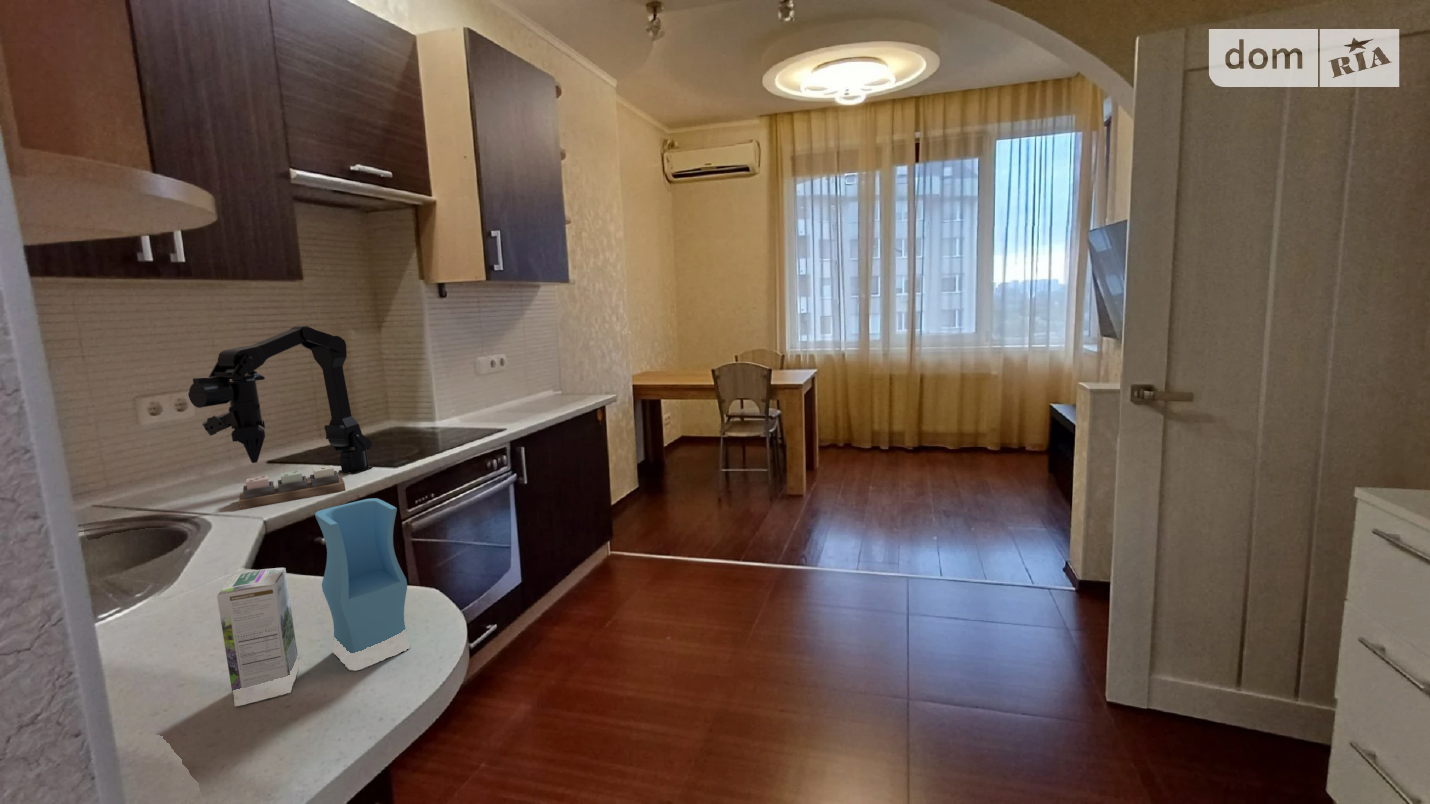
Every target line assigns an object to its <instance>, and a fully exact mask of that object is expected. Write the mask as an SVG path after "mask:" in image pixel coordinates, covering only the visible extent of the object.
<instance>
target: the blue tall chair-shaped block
mask: <svg viewBox="0 0 1430 804" xmlns="http://www.w3.org/2000/svg"><path fill="white" fill-rule="evenodd" d="M397 511H398V509H397V507H395V506H394V505H392V504H390V503H389V502H386V501H385V500H382V499H380V498H377V497H376V498H375V497H374V498H365V499H361V500H357V501H353V502H352V501H351V502H349V503H345V504H340V505H336V506H331V507H327V508H323V509H321V510H318V511H316V512H314V516H315V519H316V521H317V524H318V525H319V527H320V530H321V532H322V535H323V539H324V541H325V546H326V547H325V548H326V552H327V553H326V564H325V570H324V575H323V577H322V582H321V589H322V593H323V595H324V597H325V600H326V603H327V605H328V607H329V610H330V613H331V618H332V621H333V622H332V623H333V638H334V637H335V638H336V639H337V641H339V642H340V644H342V645H343V647H345V648H346V650H347V651H349V652H350V653H355V652H358V651H362V650H364V649H366V648H367V647H371V646H373V645H375V644H378V643H381V642H382V641H385V640H387V639H389V638H391V637H393V636H395V635H397V634H399V633H401V632H402V631H403V630H405V629H406V630H407V628H406V622H405V605H406V604H405V603H406V597H407V590H408V582H407V581H408V580H407V578H406V576H405V574H404V572H403V570H402V568H401V566H400V564H399V562H398V558H397V556H396V552H395V547H394V528H395V527H394V526H395V521H396V516H397Z"/></svg>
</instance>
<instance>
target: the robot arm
mask: <svg viewBox="0 0 1430 804" xmlns="http://www.w3.org/2000/svg"><path fill="white" fill-rule="evenodd" d="M298 345H301V346H302V347H303V348H305V349H307V350H310V351H311V353H312V357H313V359H314V360H315V361H316V363H317V364H318V365H319V367H320V368H321V370H322V374H323V379H324V385H325V390H326V391H325V392H326V395H327V400H328V406H329V411H330V421H329V423H328V424H325V425H324V427H323V428H324V431H325V440H328V443H329V444H330V445H332V447H333V450H334V452H339V454H340V455H339V456H340V457H339V461H340V468H341V469H340V470H337V471H338V472H337V473H342V474H343V473H344V474H358V473H361V472H363V471H367V470H369V469H372V468H374V466H373V465H369V461H368V460H369V459H368V452H367V451H368V450H371V449H372V448H371V447H372V441H371V439H369V438H368V437H367V436H365V435H364V434H363V432H362V429H361V427H360V424H359V422H358V421H357V420H356V419H355V418H354V417H353V415H352V410H351V405H350V400H349V395H348V389H347V384H346V377H345V373H344V364H345V362H346V359H347V355H348V353H347V351H348V350H347V344H346V340H345V339H343V338H342V337H341V336H339V335H332V334H330V333H327V332H323V331H321V330H317V329H314V328H312V327H310V326H308V325H299V326H293V327H291V328H290V329H288V330H285V331H283V332H280V333H278V334H276V335H273V336H271V337H269V338H266V339H263V340H262V341H259V342H257V343H254V344H250V345H244V346H238V347H233V348H232V347H231V348H229V349H224V350H221V352H219V354H218V357H217V362H216V363H215V365H214V367H213V368H212V370H211V372H210V373H209V376H208V377H194V378H192V384H191V385H190V387H189V390H188V398H189V401H190V402H191V404H192V405H193V406H194V407H196V408H197V409H201V408H206V407H207V408H208V407H214V406H219V405H227V404H228V403H229V407H228V412H225V413H222V414H220V415H213V416H211V417H207V419H206V420H205V421H203V423H202V424H201V425H202V426H203V428H204V430H205V431H206V432H207V433H208V435H209V436H213V435H217V433H219V432H221V431H223V430H226V429H228V428H231V430H232V429H233V430H232V431H231V434H230V435H231V441H232V442H238V443H241V444H242V445H243V446H244V449H245V451H246V453H247V455H248V457H249V460H250V462H251V463H252V464H256V463H258V462H259V461H258V460H259V457H260V455H261V451H262V447H263V444H264V441H265V438H266V431H265V429H266V423H265V419H263V416H262V412H261V403H260V399H259V393H258V386H257V381H263V380H265V376H263V375H261V374H260V373H258V372H257V371H256V370H258V369H259V368H261V367H262V366H263V365H264V364H265V362H266V361H267V360H268V359H270V358H272V357H274V356H276V355H278V354H281V353H283V352H285V351H288V350H291V349H292V348H294V347H296V346H298Z"/></svg>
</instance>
